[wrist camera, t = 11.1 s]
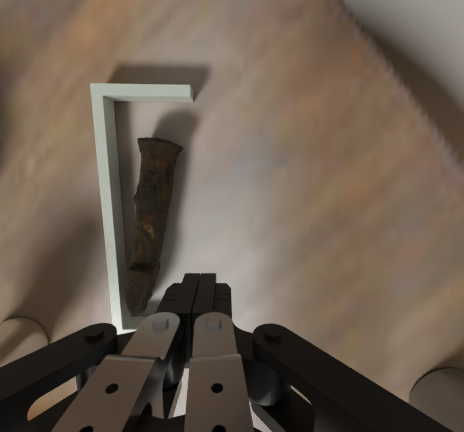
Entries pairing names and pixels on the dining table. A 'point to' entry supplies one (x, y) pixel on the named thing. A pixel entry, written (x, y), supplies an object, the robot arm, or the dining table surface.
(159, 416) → the robot arm
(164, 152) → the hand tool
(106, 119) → the tool holder
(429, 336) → the dining table surface
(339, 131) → the dining table surface
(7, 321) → the beer glass
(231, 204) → the dining table surface
